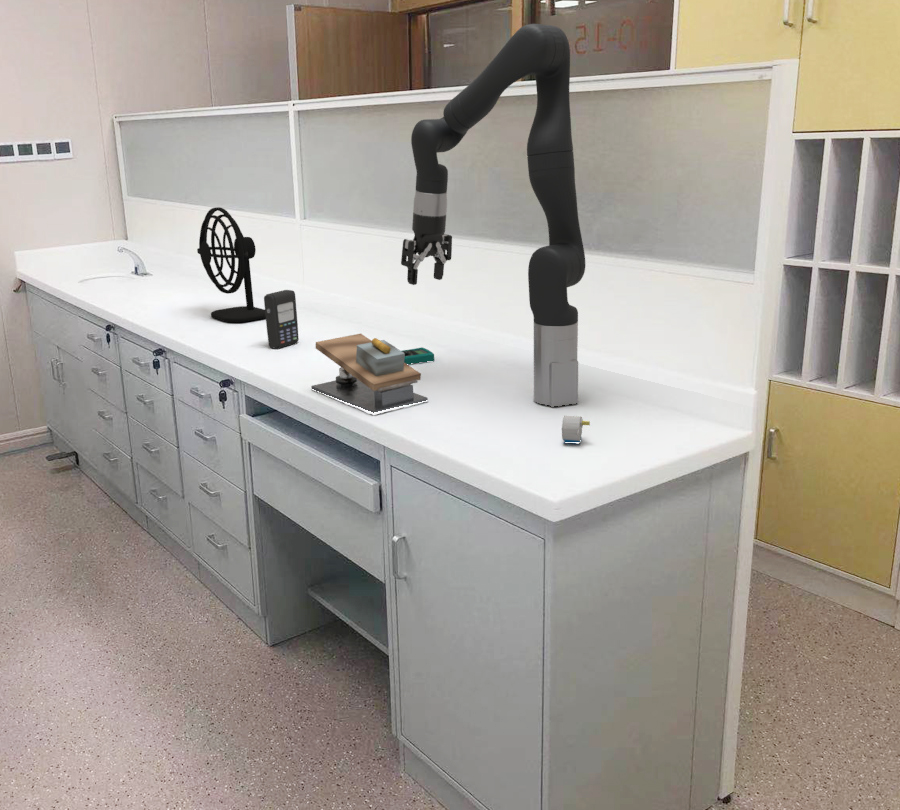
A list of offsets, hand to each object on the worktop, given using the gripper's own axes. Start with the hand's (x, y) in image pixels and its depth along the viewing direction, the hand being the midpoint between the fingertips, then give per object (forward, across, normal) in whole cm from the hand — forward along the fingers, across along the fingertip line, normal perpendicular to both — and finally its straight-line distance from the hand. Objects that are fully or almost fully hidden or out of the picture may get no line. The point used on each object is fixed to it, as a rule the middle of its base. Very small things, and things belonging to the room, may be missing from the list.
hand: (425, 281), depth 207 cm
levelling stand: (+22, -20, -4) cm, 31 cm away
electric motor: (+15, -17, -57) cm, 62 cm away
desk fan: (+36, +13, +94) cm, 101 cm away
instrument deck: (+15, -21, -3) cm, 26 cm away
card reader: (+30, -2, +50) cm, 59 cm away
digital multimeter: (+25, +5, +11) cm, 28 cm away
